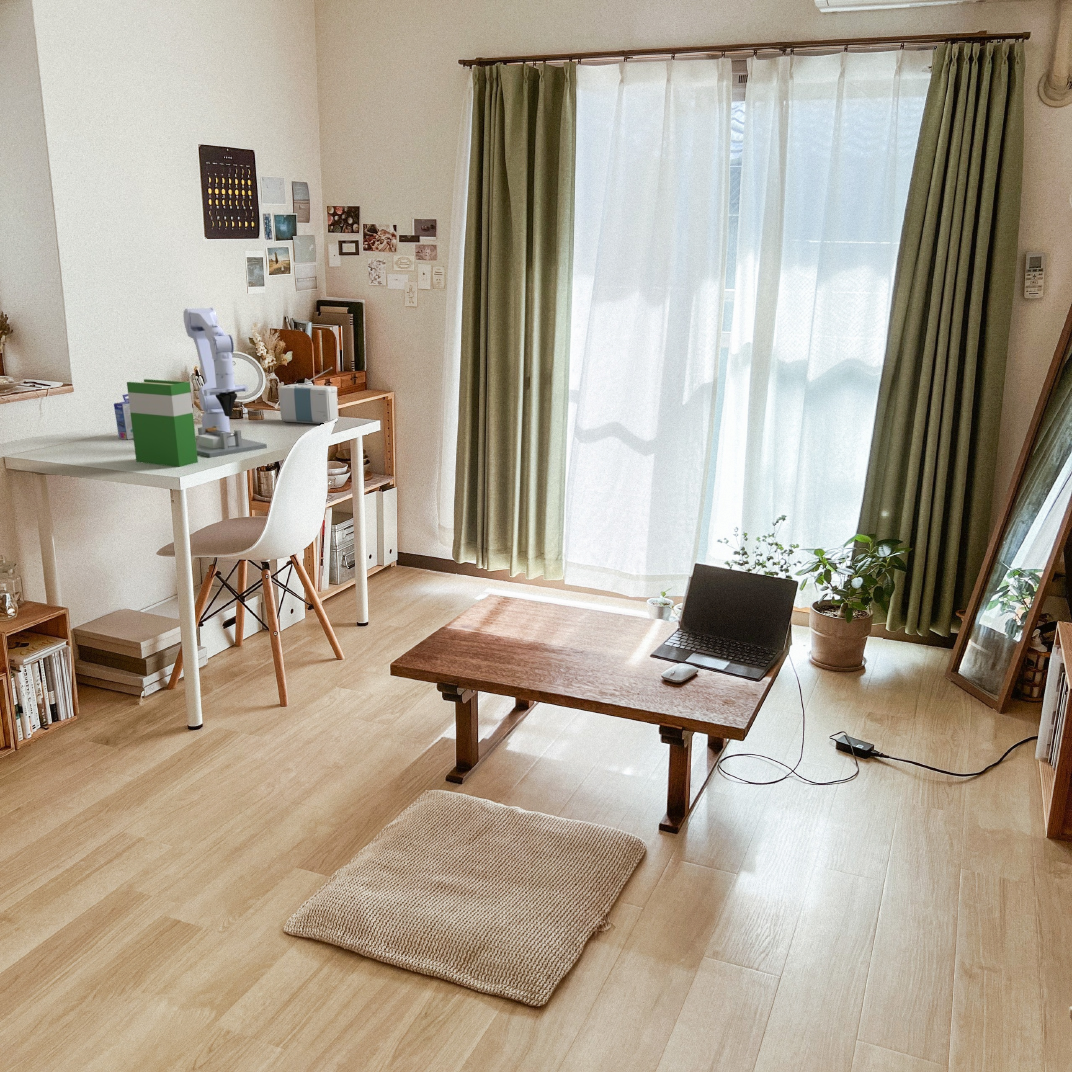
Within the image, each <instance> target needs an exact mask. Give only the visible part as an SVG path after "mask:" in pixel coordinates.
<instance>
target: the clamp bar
mask: <svg viewBox="0 0 1072 1072" xmlns="http://www.w3.org/2000/svg"><path fill="white" fill-rule="evenodd" d="M205 430H206V433H211V434H216V435H220V432H225V431H220V430H216V428H214V427H211V428H205ZM230 432H231V431H230ZM230 432H226V433H227V437H233V436H236V433H234V432H232V433H230Z"/></svg>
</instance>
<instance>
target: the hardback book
mask: <svg viewBox="0 0 1072 1072" xmlns="http://www.w3.org/2000/svg"><path fill="white" fill-rule="evenodd" d="M126 386H127V394H128V396H127V397H128V398H129V405H130V414H131V422H132V430H133V438H134V439H133V446H134V452H135V454H134V455H135V461H136V463H141V462H143V463H142V464H150V465H151V464H152V465H160V466H168V467H174V468H175V467H177V468H181V467H185V466H190V465H193V464H196V463H198V462H199V460H198V459H199V457H198V454H197V448H196V441H197V440H196V439H197V438H196V431H195V421H194V420H195V419H194V412H193V411H194V409H193V401H192V394H191V393H192V392H191V383H190V381H175V380H166V379H165V380H162V379H161V380H160V379H149V378H146V379H145V378H144V379H143V382H136V381H127V382H126Z"/></svg>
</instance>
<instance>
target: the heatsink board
mask: <svg viewBox="0 0 1072 1072" xmlns="http://www.w3.org/2000/svg"><path fill="white" fill-rule="evenodd" d="M213 427H214V428H216V430H220V426H219V425H213ZM197 431H198V433H197V434H198V435H197V440H196V448H197V455H199V456H202V457H207V458H215V457H220V456H227V455H232V454H238V453H244V452H250V451H256V450H261V449H267V446H268V445H267V443H264V442H259V441H256V440H255V441H254V440H251V439H245V438H242V437H243V436H242V431H241V429H235V430H233V432H232V431H230V433H236V436H233V437H227V433H226V432H227V431H225V432H220V435H216V434H206V430H205V428H204V427H202V426H201V427H197ZM220 431H221V430H220Z"/></svg>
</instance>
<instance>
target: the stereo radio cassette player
mask: <svg viewBox="0 0 1072 1072" xmlns="http://www.w3.org/2000/svg"><path fill="white" fill-rule="evenodd" d="M332 369H333V367H332V366H331V367H330V368H329V369H327V370H325V371H323V372H321V373H320V374H317V375H316V376H314V377H312V378H311V379H309V380H307V381H305V382H304V383H301V384H297V383H296V384H295V383H294V384H287V385H283V386H282V385H281V386H279V387H278V388H279V389H278V396H279V397H278V398H279V411H280V418H281V420H282V421H284V422H286V423H288V422H289V423H301V424H302V423H303V424H317V425H321V424H320V423H323V422H325V421H329V420H332V419H335V418H337V419H338V420H339V406H338V405H339V404H338V387H337V386H336V385H335V386H333V385H315V384H314V385H312V384H307V383H310V382H311V381H313V380H314V379H316V378H318V377H320V376H321V375H324V373H326V372H328V371H329V370H332Z"/></svg>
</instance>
